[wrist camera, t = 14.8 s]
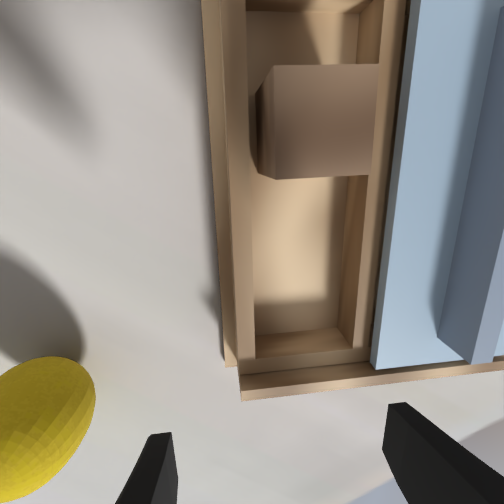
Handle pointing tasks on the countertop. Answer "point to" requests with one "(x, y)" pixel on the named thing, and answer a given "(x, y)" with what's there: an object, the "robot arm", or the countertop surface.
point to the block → (316, 120)
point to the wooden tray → (302, 203)
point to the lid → (446, 192)
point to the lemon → (41, 421)
